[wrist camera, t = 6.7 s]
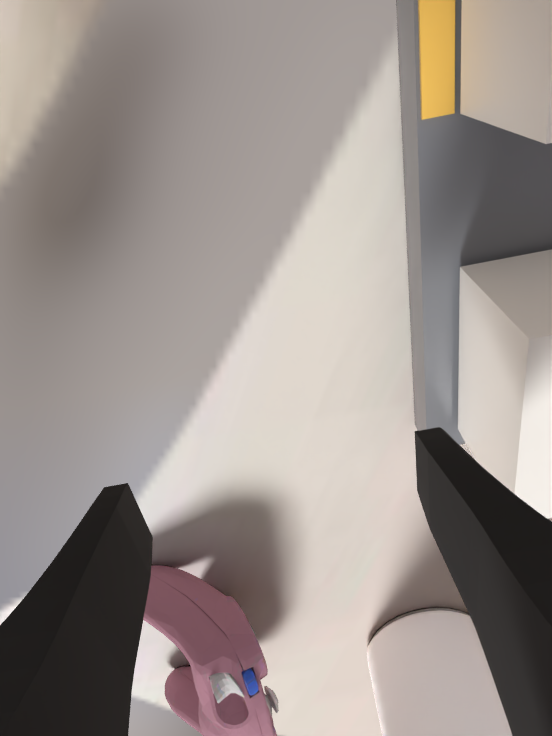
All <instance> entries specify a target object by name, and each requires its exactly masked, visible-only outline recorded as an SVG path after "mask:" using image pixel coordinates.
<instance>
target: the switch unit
mask: <svg viewBox="0 0 552 736" xmlns="http://www.w3.org/2000/svg"><path fill="white" fill-rule="evenodd" d="M396 6H397V28H398V51H399V74H400V96H401V119H402V141H403V164H404V187H405V209H406V232H407V254H408V277H409V300H410V322H411V345H412V367H413V390H414V413H415V425H416V427H417V430H418V431H420V430H425V429H431V428H437V427H441V428H442V429H443V430H445V431H446V432H447V433H448V434H449V435H450V436H451V437H452V438H453V439H454V440H455V441H456V442H457V443H458V444H459V445H460V444H465V441H464V439H463V437H462V436H461V434H460V432H459V430H458V378H459V294H460V267H462V266H467V265H472V264H477V263H483V262H488V261H493V260H499V259H504V258H509V257H514V256H520V255H525V254H530V253H536V252H541V251H546V250H551V249H552V143H549V144H544V143H541V142H538V141H536V140H533V139H530V138H527V137H524V136H521V135H519V134H516V133H513V132H510V131H507V130H505V129H502V128H499V127H496V126H493V125H491V124H488V123H485V122H482V121H479V120H476V119H474V118H471V117H468V116H465V115H462V114H460V103H461V10H462V0H396Z"/></svg>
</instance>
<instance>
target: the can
mask: <svg viewBox="0 0 552 736" xmlns="http://www.w3.org/2000/svg"><path fill="white" fill-rule="evenodd" d="M367 659H368V665H369V671H370V676H371V681H372V686H373V691H374V696H375V701H376V706H377V711H378V716H379V721H380V726H381V731H382V735H383V736H512V733H511V730H510V727H509V724H508V721H507V718H506V715H505V712H504V709H503V706H502V703H501V700H500V697H499V694H498V691H497V688H496V685H495V682H494V680H493V677H492V674H491V671H490V668H489V665H488V662H487V660H486V657H485V654H484V651H483V648H482V646H481V643H480V640H479V637H478V634H477V632H476V629H475V627H474V624H473V622H472V619H471V617H470V615H468V614H466V613H464V612H462V611H459V610H455V609H449V608H427V609H420V610H416V611H412V612H409V613H406V614H403V615H401V616H398V617H396V618H394V619H393V620H391V621H389V622H388V623H386V624H385V625H384V626H382V627H381V628H380V629H379V630H378V631H377V632H376V633H375V635H374V636H373V638H372V640H371V642H370V644H369V646H368V649H367Z"/></svg>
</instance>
